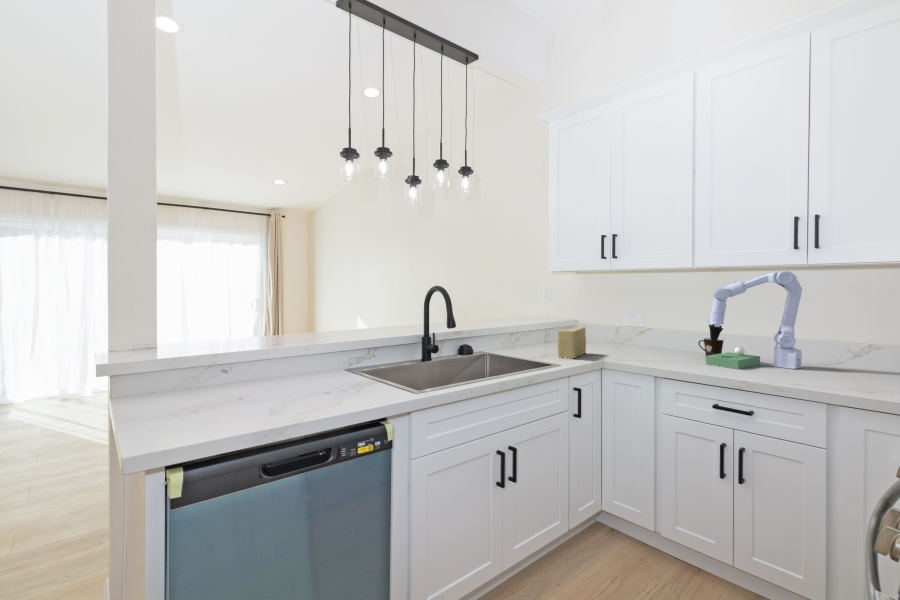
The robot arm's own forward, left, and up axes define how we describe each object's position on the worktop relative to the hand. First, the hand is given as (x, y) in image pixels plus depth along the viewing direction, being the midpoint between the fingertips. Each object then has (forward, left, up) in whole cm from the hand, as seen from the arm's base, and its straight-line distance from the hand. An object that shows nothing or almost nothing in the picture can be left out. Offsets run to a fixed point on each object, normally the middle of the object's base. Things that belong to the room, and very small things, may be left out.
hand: (713, 340), depth 207 cm
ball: (-9, -6, -5) cm, 12 cm away
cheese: (+48, +44, -11) cm, 66 cm away
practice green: (-9, 0, -11) cm, 14 cm away
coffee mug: (+6, -10, -11) cm, 16 cm away
